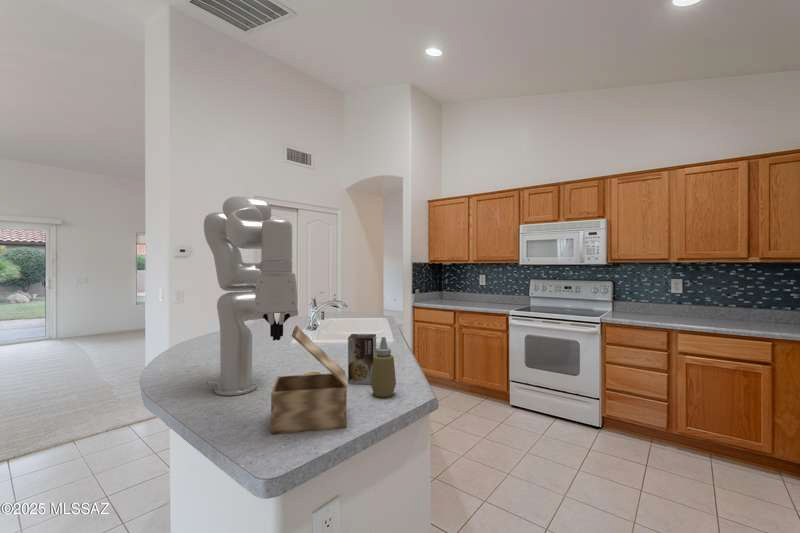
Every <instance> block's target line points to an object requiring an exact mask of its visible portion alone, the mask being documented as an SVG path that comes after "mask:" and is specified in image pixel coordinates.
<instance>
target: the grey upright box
mask: <svg viewBox="0 0 800 533" xmlns="http://www.w3.org/2000/svg"><path fill="white" fill-rule="evenodd" d="M376 349H377V334H376V333H351V334H350V335H349V336H348V337H347V358H348V359H347V361H348V362H347V366H348V367H347V370H348V371H347V374H348V375H347V382H348V383H349V384H348V385H350V384H351V385H371V376H372V366H373V357H374V356H375V355H377V354H376Z"/></svg>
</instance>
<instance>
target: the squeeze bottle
mask: <svg viewBox="0 0 800 533" xmlns="http://www.w3.org/2000/svg"><path fill="white" fill-rule="evenodd" d="M380 339H381V340H380V345H379V347H376V355H375V356H374V357H373V366H372V376H371V384H370V387H371V389H372V392H373V395H374V396H376V397H379V398H388V397H391V396H393V394H394V391H395V388H396V385H397V379H396V378H397V377H396V370H395V368H396V366H395V358H394V357H395V356H394V355H392V349H391V347H388V342H387V339H386V337H385V336H382V337H381V338H380Z"/></svg>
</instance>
